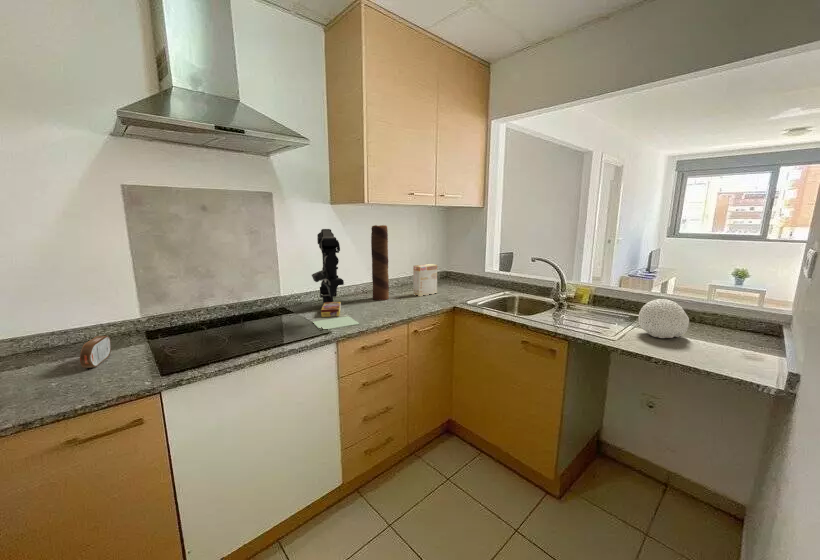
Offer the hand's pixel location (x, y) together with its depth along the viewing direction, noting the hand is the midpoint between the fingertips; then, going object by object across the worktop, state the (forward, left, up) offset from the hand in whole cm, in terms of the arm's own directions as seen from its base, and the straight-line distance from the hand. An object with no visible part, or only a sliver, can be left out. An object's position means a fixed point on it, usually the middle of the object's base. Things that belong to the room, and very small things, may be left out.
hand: (331, 297), depth 155 cm
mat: (+5, 0, -12) cm, 12 cm away
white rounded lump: (+90, +113, -12) cm, 145 cm away
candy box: (-7, +1, -9) cm, 12 cm away
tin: (+6, -82, -12) cm, 84 cm away
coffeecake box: (-26, +71, -12) cm, 76 cm away
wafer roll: (-29, +40, -12) cm, 51 cm away
